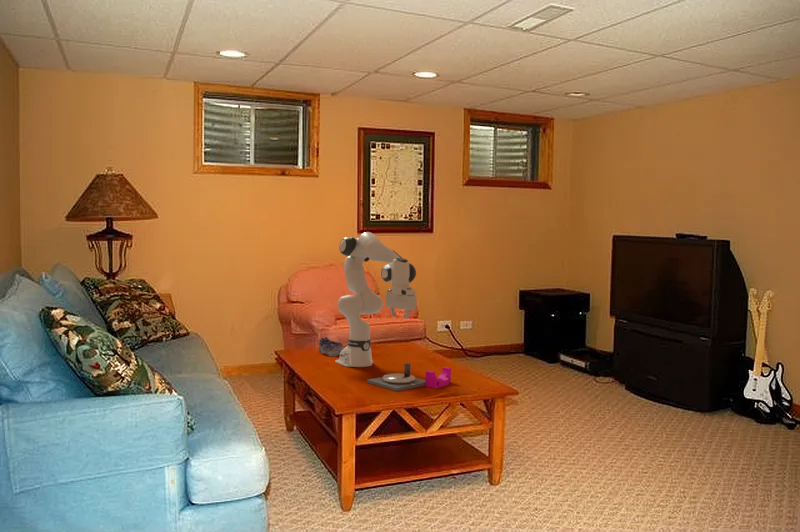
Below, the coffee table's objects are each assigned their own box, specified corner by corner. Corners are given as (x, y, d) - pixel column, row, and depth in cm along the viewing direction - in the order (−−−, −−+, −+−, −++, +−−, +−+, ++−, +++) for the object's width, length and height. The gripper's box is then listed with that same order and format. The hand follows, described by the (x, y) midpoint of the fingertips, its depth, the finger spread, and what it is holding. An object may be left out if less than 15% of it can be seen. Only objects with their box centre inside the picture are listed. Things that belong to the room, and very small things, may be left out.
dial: (397, 385, 311) (397, 369, 310) (375, 379, 323) (376, 364, 322) (422, 380, 322) (422, 365, 321) (400, 374, 333) (400, 360, 333)
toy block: (435, 388, 314) (435, 373, 314) (425, 386, 319) (425, 371, 318) (454, 383, 325) (455, 368, 325) (444, 381, 329) (445, 366, 329)
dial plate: (367, 382, 323) (367, 379, 323) (400, 376, 338) (400, 373, 338) (396, 391, 307) (397, 387, 307) (430, 384, 321) (430, 381, 321)
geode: (311, 353, 395) (311, 337, 395) (327, 351, 403) (327, 335, 402) (330, 359, 380) (330, 341, 380) (346, 356, 388) (347, 340, 387)
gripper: (382, 288, 337) (381, 315, 338) (409, 292, 322) (409, 320, 323) (391, 288, 341) (390, 314, 342) (418, 291, 327) (418, 319, 327)
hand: (399, 317), depth 332 cm, fingers open, 8 cm apart
